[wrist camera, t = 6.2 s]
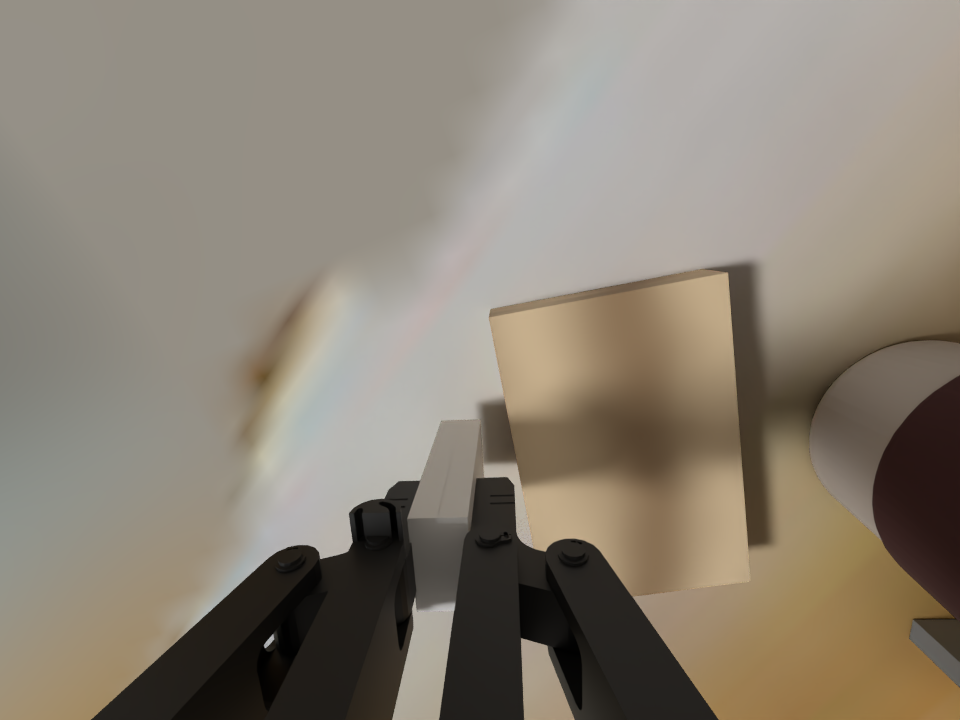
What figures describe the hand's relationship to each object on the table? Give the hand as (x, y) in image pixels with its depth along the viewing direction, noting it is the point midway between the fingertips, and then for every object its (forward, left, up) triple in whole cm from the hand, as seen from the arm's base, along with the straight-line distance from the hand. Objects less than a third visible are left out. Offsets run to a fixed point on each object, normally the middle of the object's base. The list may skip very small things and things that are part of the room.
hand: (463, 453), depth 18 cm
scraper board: (+6, 0, -2) cm, 6 cm away
